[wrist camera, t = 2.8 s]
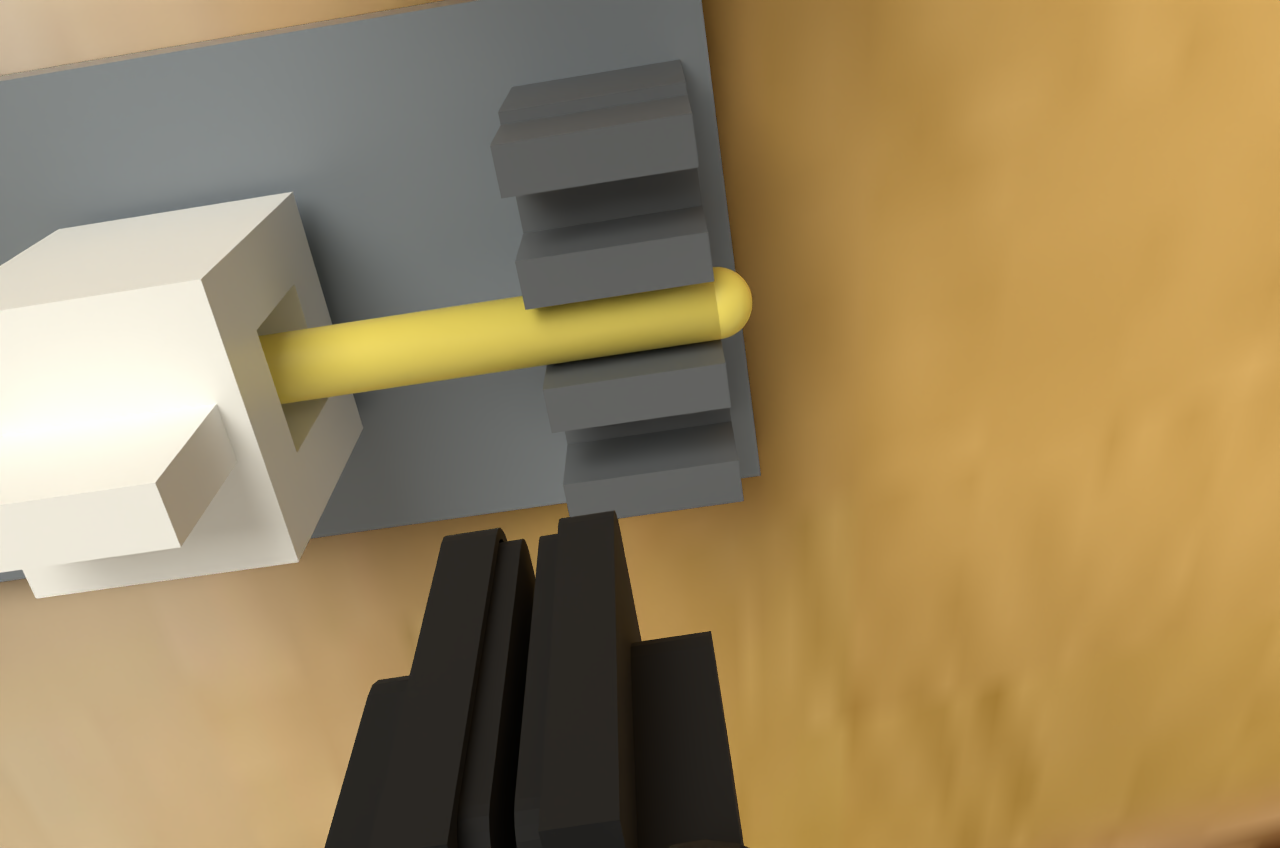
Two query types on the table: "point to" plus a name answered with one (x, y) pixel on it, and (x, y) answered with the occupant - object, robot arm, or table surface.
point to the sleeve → (161, 400)
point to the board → (443, 224)
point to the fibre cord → (498, 338)
